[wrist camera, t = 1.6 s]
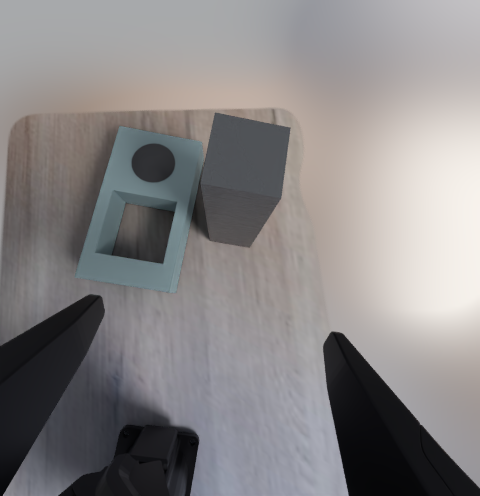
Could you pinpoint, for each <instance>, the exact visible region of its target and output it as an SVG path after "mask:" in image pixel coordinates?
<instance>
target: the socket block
mask: <svg viewBox="0 0 480 496" xmlns="http://www.w3.org/2000/svg"><path fill="white" fill-rule="evenodd" d="M203 161H204V156H203V147H202V142H200V141H195V140H190V139H185V138H180V137H174V136H169V135H164V134H159V133H154V132H149V131H144V130H138V129H133V128H128V127H123V126H119V130H118V133H117V136H116V140H115V143H114V146H113V150H112V153H111V156H110V160H109V163H108V166H107V170H106V173H105V176H104V180H103V183H102V186H101V190H100V193H99V197H98V200H97V203H96V207H95V210H94V213H93V217H92V220H91V223H90V227H89V230H88V233H87V237H86V240H85V243H84V247H83V250H82V253H81V257H80V260H79V263H78V267H77V270H76V273H75V277H76V278H82V279H88V280H94V281H101V282H107V283H113V284H119V285H125V286H132V287H138V288H144V289H150V290H156V291H163V292H169V293H176V290H177V285H178V280H179V276H180V271H181V266H182V261H183V257H184V252H185V247H186V242H187V238H188V233H189V228H190V223H191V219H192V214H193V209H194V204H195V200H196V195H197V190H198V185H199V181H200V176H201V171H202V166H203ZM126 203H129V204H135V205H140V206H146V207H152V208H157V209H163V210H168V211H174V212H175V214H174V218H173V223H172V227H171V232H170V236H169V240H168V245H167V249H166V254H165V258H164V263H163V264H160V263H154V262H148V261H142V260H136V259H130V258H124V257H118V256H112V252H113V248H114V245H115V241H116V237H117V234H118V230H119V226H120V223H121V219H122V215H123V212H124V208H125V204H126Z"/></svg>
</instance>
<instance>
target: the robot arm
mask: <svg viewBox="0 0 480 496" xmlns="http://www.w3.org/2000/svg"><path fill="white" fill-rule="evenodd" d="M104 313H105V309H104V304H103V299H102V297H101V296H99V295H93V294H90V295H87V296H86V297H84V298H82V299H80V300H79V301H77V302H75V303H74V304H72V305H70V306H68V307H67V308H65V309H63V310H62V311H60V312H58V313H56V314H55V315H53V316H51V317H50V318H48V319H46V320H44V321H43V322H41V323H39V324H38V325H36V326H34V327H32V328H31V329H29V330H27V331H26V332H24V333H22V334H20V335H19V336H17V337H15V338H14V339H12V340H10V341H9V342H7V343H5V344H3V345H2V346H0V496H3V494H4V492H5V491H6V489H7V487H8V486H9V484H10V482H11V481H12V479H13V477H14V476H15V474H16V472H17V470H18V469H19V467H20V465H21V464H22V462H23V460H24V459H25V457H26V455H27V454H28V452H29V450H30V449H31V447H32V445H33V443H34V442H35V440H36V438H37V437H38V435H39V433H40V432H41V430H42V428H43V427H44V425H45V423H46V421H47V420H48V418H49V416H50V415H51V413H52V411H53V410H54V408H55V406H56V405H57V403H58V401H59V400H60V398H61V396H62V394H63V393H64V391H65V389H66V388H67V386H68V384H69V383H70V381H71V379H72V378H73V376H74V374H75V372H76V371H77V369H78V367H79V366H80V364H81V362H82V361H83V359H84V357H85V355H86V353H87V351H88V349H89V347H90V345H91V343H92V341H93V338H94V336H95V334H96V332H97V330H98V328H99V325H100V323H101V321H102V319H103V317H104ZM323 352H324V362H325V373H326V383H327V390H328V395H329V400H330V405H331V410H332V415H333V420H334V425H335V430H336V435H337V440H338V444H339V449H340V454H341V459H342V464H343V469H344V474H345V479H346V484H347V489H348V493H349V496H480V488H479V487H478V486H477V485H476V484H475V483H474V482H473V481H472V480H471V479H470V478H469V477H468V476H467V475H466V473H465V472H464V471H463V470H462V469H461V468H460V467H459V466H458V465H457V464H456V463H455V462H454V461H453V460H452V459H451V458H450V456H449V455H448V454H447V453H446V452H445V451H444V450H443V449H442V448H441V446H440V445H439V444H438V443H437V442H436V441H435V440H434V439H433V437H432V436H431V435H430V434H429V433H428V432H427V430H426V429H425V428H424V427H423V426H422V425H420V423H419V421H418V420H417V419H416V418H415V417H414V415H413V414H412V413H411V412H410V411H409V410H408V409H407V407H406V406H405V405H404V404H403V403H402V402H401V400H400V399H399V398H398V397H397V396H396V395H395V394H394V392H393V391H392V390H391V389H390V388H389V386H388V385H387V384H386V383H385V382H384V381H383V380H382V378H381V377H380V376H379V375H378V374H377V373H376V372H375V370H374V369H373V368H372V367H371V366H370V364H369V363H368V362H367V361H366V360H365V359H364V358H363V356H362V355H361V354H360V353H359V352H358V351H357V350H356V348H355V347H354V346H353V345H352V344H351V343H350V341H349V340H348V339H347V338H346V337H345V335H344V334H342V333H340V332H331V333H330V334H329V336H328V338H327V339H326V341H325V343H324V346H323ZM124 431H128V432H129V435H125V433H124ZM191 440H195V441H196V442H195V443H194V444H192V443H191V442H190V441H191ZM198 445H199V437H198V435H197V434H194V433H186V432H179V431H177V430H176V429H174V428H167V427H159V426H152V425H146V426H145V427H141V426H133V425H126V426H124V427H123V428H122V430H121V431H120V434H119V438H118V443H117V447H116V451H115V456H114V460H113V461H112V462H111V464H110V465H109V466H107V467H105V468H104V469H103V470H102V471H100V472H95V473H90V474H85V475H83V476H81V477H80V478H79V479H77V480H76V481H75V482H74V483H73V484H72V485H70V486H69V487H68V488H67V489H66V490H64V491H63V492H62V493H61V494H60V495H59V496H190V492H191V486H192V480H193V474H194V468H195V462H196V457H197V451H198Z"/></svg>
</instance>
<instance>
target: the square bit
mask: <svg viewBox="0 0 480 496" xmlns="http://www.w3.org/2000/svg"><path fill="white" fill-rule="evenodd" d="M289 135H290V128H289V127H284V126H279V125H274V124H269V123H264V122H259V121H254V120H249V119H244V118H239V117H234V116H229V115H224V114H220V113H215V115H214V120H213V125H212V130H211V134H210V139H209V144H208V149H207V154H206V158H205V163H204V168H203V173H202V178H201V182H200V184H201V190H202V196H203V202H204V208H205V214H206V220H207V226H208V232H209V238H210V241H215V242H220V243H226V244H232V245H238V246H243V247H249V248H250V246H251V245H252V243H253V242H254V240H255V238H256V237H257V235H258V234H259V232H260V231H261V229H262V227H263V226H264V224H265V223H266V221H267V220H268V218H269V216H270V215H271V213H272V212H273V210H274V209H275V207H276V205H277V204H278V202H279V201H280V199H281V195H282V188H283V180H284V173H285V165H286V157H287V150H288V142H289Z"/></svg>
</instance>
